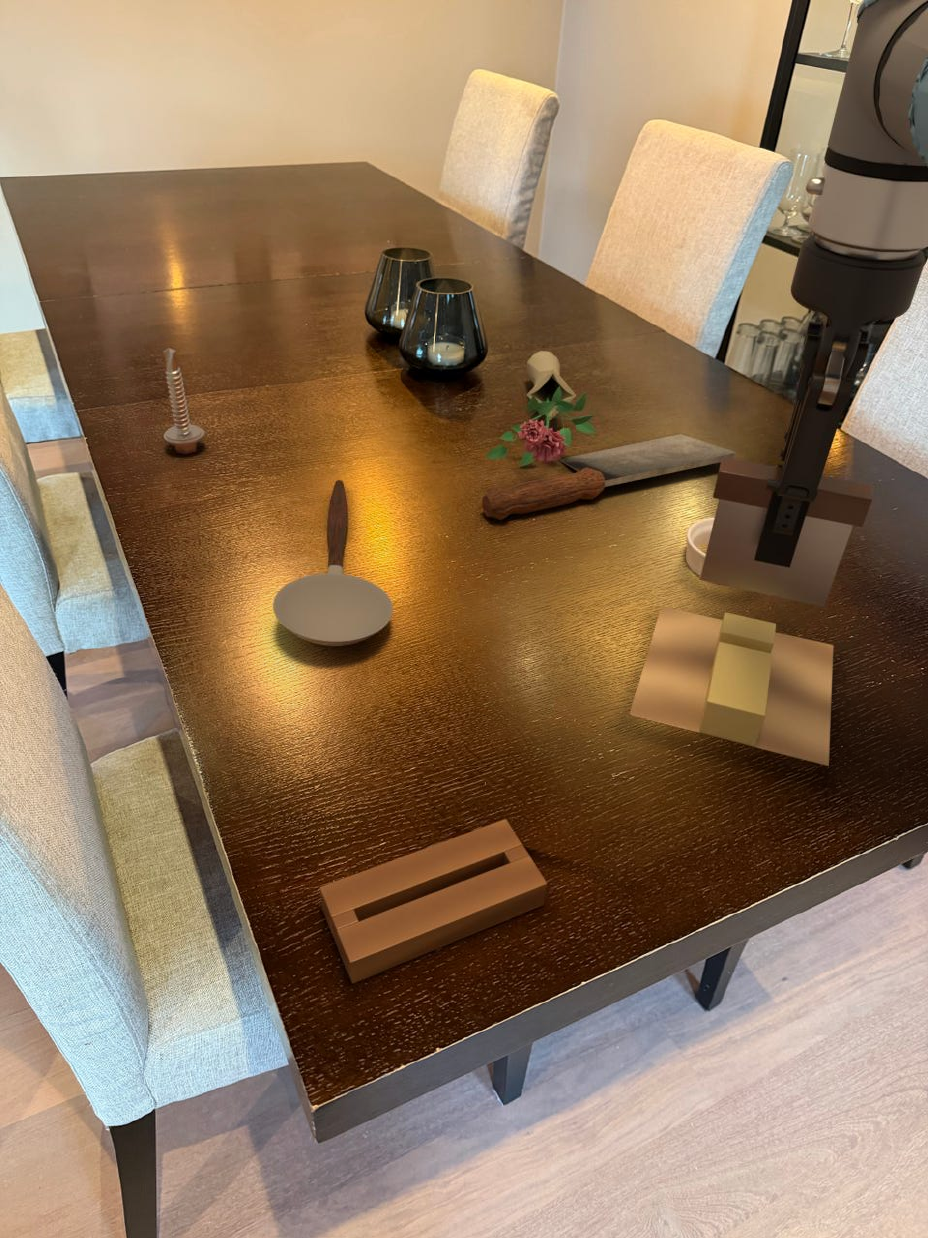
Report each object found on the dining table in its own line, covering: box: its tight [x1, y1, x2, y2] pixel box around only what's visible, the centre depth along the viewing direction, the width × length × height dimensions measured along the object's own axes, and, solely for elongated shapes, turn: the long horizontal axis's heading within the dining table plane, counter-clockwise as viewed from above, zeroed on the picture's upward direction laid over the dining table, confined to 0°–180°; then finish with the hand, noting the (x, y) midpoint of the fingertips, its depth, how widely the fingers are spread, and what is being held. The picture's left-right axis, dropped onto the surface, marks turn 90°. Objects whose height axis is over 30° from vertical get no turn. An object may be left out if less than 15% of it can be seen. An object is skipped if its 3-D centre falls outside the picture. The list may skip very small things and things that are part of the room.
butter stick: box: [699, 642, 772, 747], centre depth 74 cm, size 8×4×4 cm, turn 161°
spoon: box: [272, 479, 394, 647], centre depth 92 cm, size 11×33×3 cm, turn 5°
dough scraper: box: [699, 457, 873, 608], centre depth 70 cm, size 2×11×11 cm, turn 71°
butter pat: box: [713, 612, 777, 662], centre depth 80 cm, size 3×4×4 cm, turn 71°
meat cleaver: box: [481, 433, 736, 521], centre depth 108 cm, size 34×11×4 cm, turn 116°
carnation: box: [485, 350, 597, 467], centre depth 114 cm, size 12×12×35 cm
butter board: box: [629, 606, 834, 767], centre depth 79 cm, size 16×16×2 cm
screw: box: [163, 347, 206, 455], centre depth 107 cm, size 13×5×5 cm
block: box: [319, 818, 548, 985], centre depth 60 cm, size 6×14×2 cm, turn 116°
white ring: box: [685, 517, 715, 577], centre depth 92 cm, size 9×9×4 cm
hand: (773, 550), depth 71 cm, fingers closed on dough scraper, 2 cm apart
